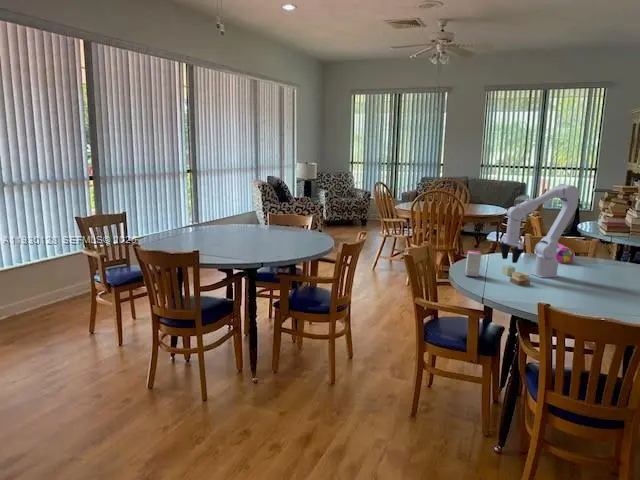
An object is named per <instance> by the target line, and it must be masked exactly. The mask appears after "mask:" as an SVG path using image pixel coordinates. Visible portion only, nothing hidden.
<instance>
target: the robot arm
mask: <svg viewBox="0 0 640 480" xmlns="http://www.w3.org/2000/svg"><path fill="white" fill-rule="evenodd" d="M580 194H581V193H580V191H579V188H578V187H577V186H575V185H569V184H565V183H561V184H558V185H556V186H553V187H552V188H551V189H550V190H547V191H546V192H544V193H542V194H541V195H539V196H537V197H535V198H532V197H531V198H526V199H525V201H523V202H521V203H517V204H516V205H515V206H511V207H509V208H508V209H507V211H506V212H505V214H506V217H507V218H508V219H507V224H506V233H505V238H500V243H499V244H498V245H499V249H500V251H501V258H502V259H503V260H507V259H508V257H509V253H510V250H511V254H512V255H511V256H512V257H511V261H512V264H517V263H518V261H519V259H520V256H521V255H522V253H523V252H524V251H525V249H524V244H522V243H521V242H519V241H520V239H519V238H520V232H521V224H522V223H521V221H522V220H523V218H525V216H526V215H528V214H530V213H532V212H534V211H537V209H538V208H539V206H540V205H542V204H544V203H547V202H549V201H551V200H553V199H559V200H561V203H562V208H561V210H560V211H559V213H558V215H557V217H556V219H555V220H554V222H553V223H552V225H551V226H550V229H549V230H548V232H547V234H546V236H544V237H542V238H541V240H540V241H539V242H537V243H536V245H535V246H534V250H535V252H536V258H535V259H536V260H535V266H534V271H533V272H530V274H531V275H534V276H535V277H539V278H541V279H542V278H558V277H559V276H558V269H559V261H558V260H557V259H556V258H555V257H554V256H555V255H556V253H557V248H558V246H559V245H558V243H559V240H560V238H561V236H562V234H563V233H564V231H565V229H566V227H567V225H568V224H569V222H570V220H571V218H572V217H573V215H574V214H575V212H576V211H577V208H578V206H579V205H578V204H579V203H578V201H579V197H580Z"/></svg>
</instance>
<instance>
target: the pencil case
mask: <svg viewBox="0 0 640 480" xmlns="http://www.w3.org/2000/svg"><path fill="white" fill-rule="evenodd" d="M558 245H559V246H558V248H557V253H556V255H555V256H554V257H555V258H556V259H557V260H558V263H562V264H569V263H571V262H572V260H573V259H574V255H575V254H574V251H573V249H572V248H569V247H568V246H565V245H564V244H561V243H559V242H558Z"/></svg>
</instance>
